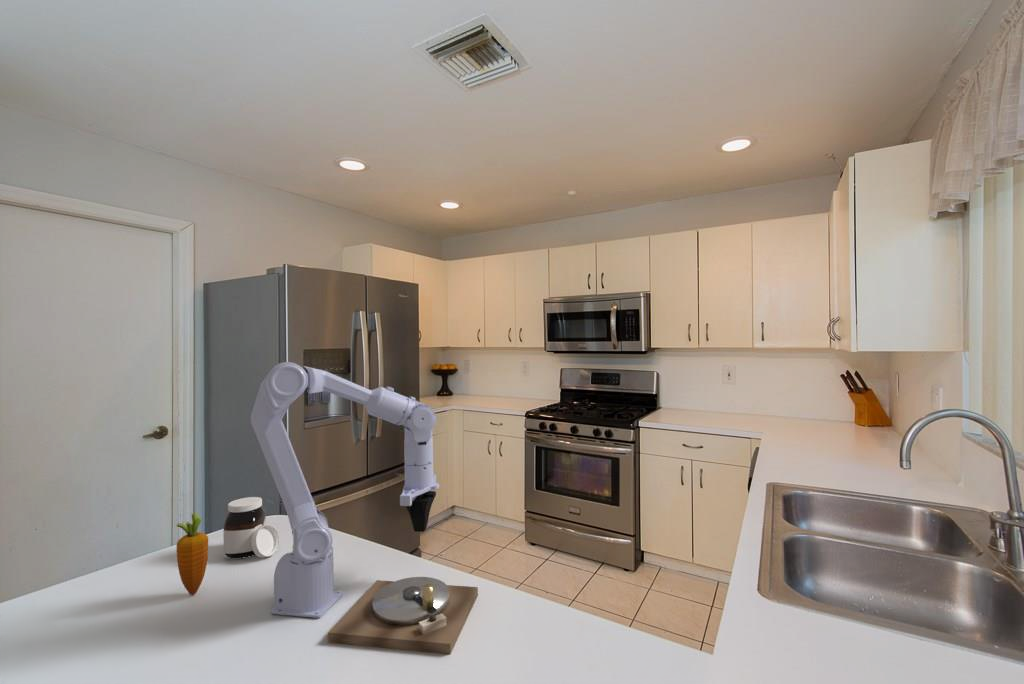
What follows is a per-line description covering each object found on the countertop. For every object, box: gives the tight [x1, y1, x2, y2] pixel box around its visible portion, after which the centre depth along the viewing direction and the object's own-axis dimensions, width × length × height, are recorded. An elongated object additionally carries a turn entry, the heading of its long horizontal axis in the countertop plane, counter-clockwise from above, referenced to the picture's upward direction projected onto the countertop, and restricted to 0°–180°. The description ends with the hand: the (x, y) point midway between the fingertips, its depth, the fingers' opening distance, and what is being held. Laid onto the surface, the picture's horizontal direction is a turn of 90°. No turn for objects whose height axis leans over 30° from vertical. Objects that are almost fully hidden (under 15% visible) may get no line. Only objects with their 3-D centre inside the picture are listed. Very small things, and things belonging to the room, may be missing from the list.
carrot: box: [176, 512, 209, 596], centre depth 87 cm, size 5×5×15 cm
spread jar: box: [222, 496, 280, 559], centre depth 105 cm, size 12×11×12 cm
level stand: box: [327, 579, 479, 655], centre depth 78 cm, size 20×16×3 cm
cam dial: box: [373, 576, 449, 625], centre depth 79 cm, size 14×13×5 cm
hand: (420, 530), depth 92 cm, fingers closed
